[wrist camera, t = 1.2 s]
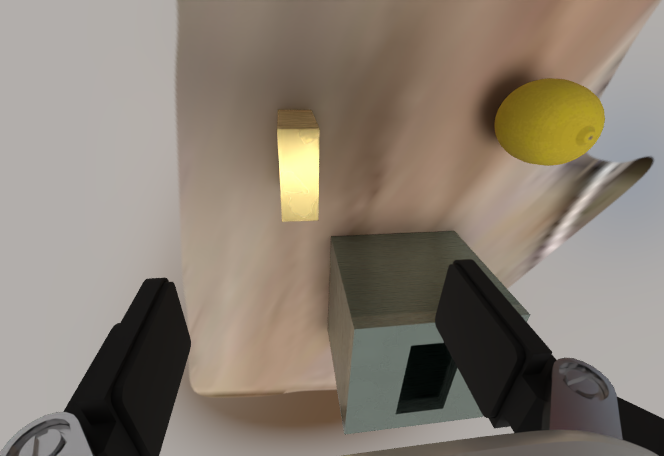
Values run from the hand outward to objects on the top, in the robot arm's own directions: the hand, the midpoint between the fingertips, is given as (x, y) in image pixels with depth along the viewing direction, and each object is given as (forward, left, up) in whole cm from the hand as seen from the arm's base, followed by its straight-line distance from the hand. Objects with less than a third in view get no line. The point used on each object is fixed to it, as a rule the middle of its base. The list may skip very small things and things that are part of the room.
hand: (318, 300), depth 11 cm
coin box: (+14, +9, -16) cm, 23 cm away
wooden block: (0, 0, -16) cm, 16 cm away
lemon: (-3, +17, -17) cm, 24 cm away
